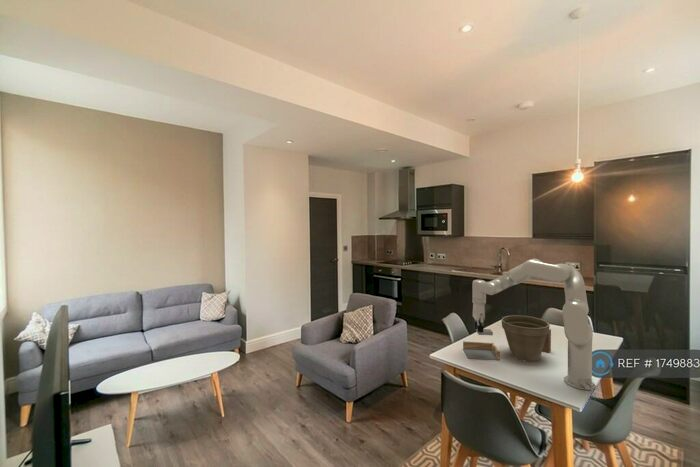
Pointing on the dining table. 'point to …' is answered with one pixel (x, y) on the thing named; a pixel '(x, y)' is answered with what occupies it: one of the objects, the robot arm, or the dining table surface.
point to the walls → (482, 347)
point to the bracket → (484, 331)
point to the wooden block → (547, 343)
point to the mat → (480, 354)
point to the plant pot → (525, 336)
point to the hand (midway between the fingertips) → (479, 330)
